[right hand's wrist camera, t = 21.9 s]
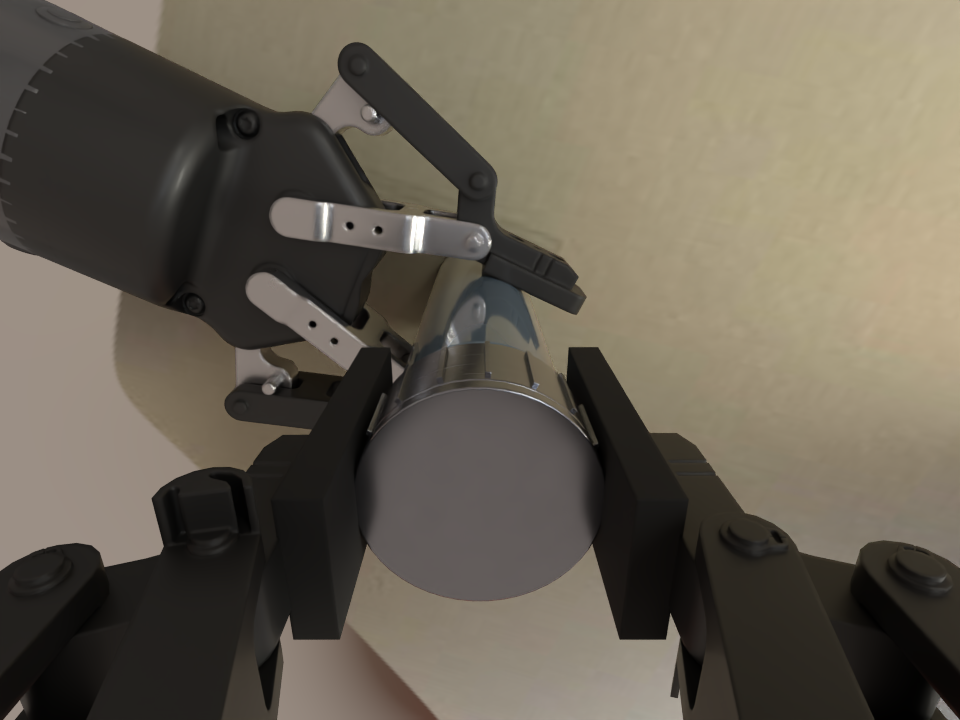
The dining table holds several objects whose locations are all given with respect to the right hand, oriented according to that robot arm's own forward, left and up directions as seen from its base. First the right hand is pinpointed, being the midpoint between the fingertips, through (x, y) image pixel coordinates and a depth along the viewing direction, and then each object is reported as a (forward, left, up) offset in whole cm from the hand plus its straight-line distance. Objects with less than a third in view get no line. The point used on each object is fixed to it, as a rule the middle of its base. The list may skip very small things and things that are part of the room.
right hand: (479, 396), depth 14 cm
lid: (0, 0, +4) cm, 4 cm away
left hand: (-1, +2, -6) cm, 7 cm away
